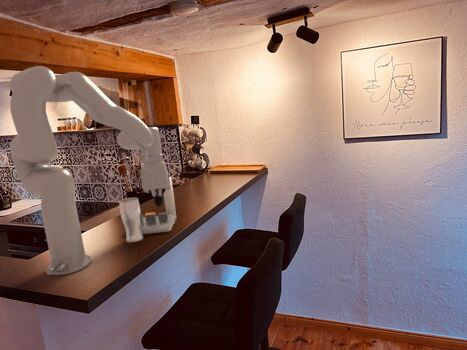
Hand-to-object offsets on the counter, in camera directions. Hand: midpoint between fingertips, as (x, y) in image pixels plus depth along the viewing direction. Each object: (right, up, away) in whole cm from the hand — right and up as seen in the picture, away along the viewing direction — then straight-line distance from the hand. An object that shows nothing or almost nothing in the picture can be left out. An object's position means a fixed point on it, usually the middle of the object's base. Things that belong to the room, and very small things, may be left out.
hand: (159, 205), depth 134 cm
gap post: (+3, -7, +11) cm, 14 cm away
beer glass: (-7, -12, -9) cm, 16 cm away
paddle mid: (-3, -6, +1) cm, 7 cm away
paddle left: (-8, -7, +1) cm, 11 cm away
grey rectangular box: (+2, -6, +1) cm, 6 cm away
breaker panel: (-3, -9, +2) cm, 10 cm away
